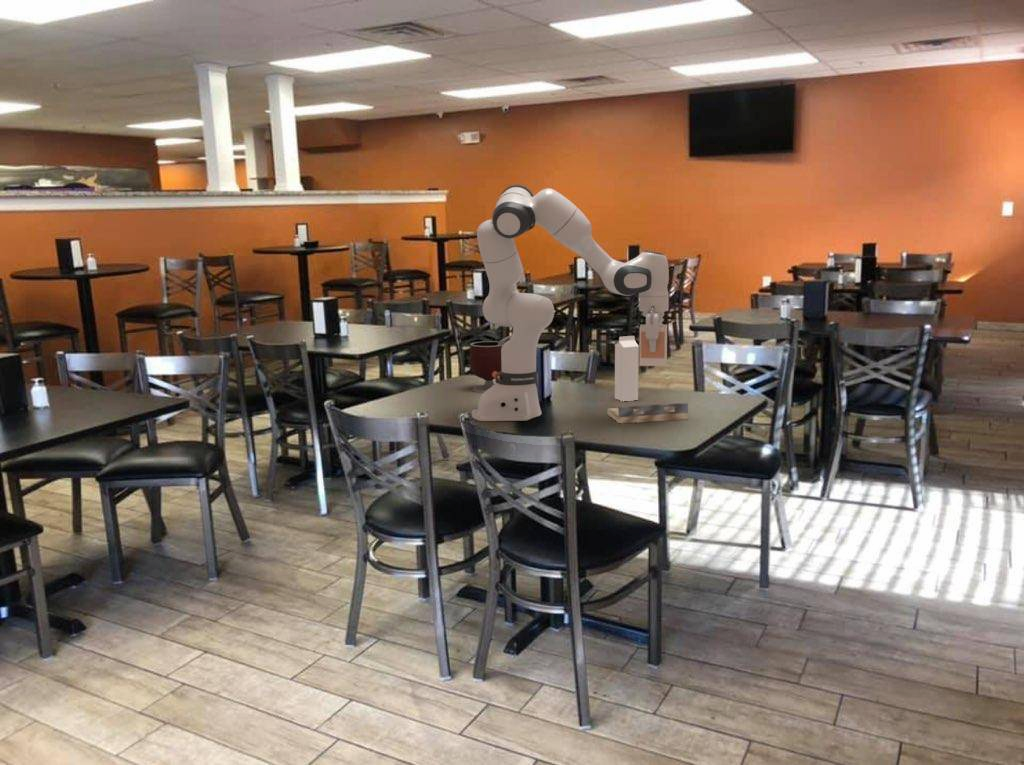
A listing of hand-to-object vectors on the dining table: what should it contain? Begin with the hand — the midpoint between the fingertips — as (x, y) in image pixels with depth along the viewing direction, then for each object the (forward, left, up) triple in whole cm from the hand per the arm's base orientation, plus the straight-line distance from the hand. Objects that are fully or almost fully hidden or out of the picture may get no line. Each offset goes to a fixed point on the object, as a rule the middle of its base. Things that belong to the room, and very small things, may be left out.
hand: (653, 349), depth 258 cm
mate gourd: (-41, +58, -22) cm, 74 cm away
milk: (+1, +28, -22) cm, 35 cm away
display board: (-1, +2, -22) cm, 22 cm away
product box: (0, 0, -5) cm, 5 cm away
